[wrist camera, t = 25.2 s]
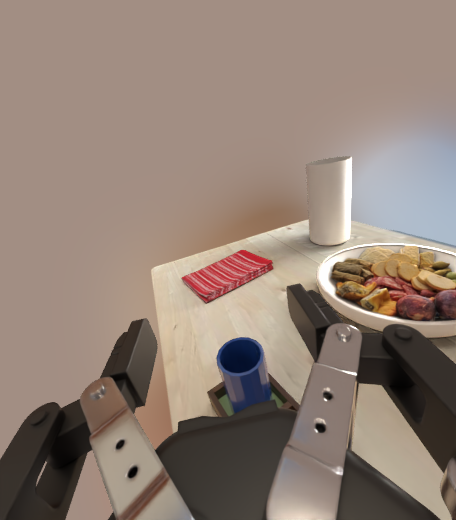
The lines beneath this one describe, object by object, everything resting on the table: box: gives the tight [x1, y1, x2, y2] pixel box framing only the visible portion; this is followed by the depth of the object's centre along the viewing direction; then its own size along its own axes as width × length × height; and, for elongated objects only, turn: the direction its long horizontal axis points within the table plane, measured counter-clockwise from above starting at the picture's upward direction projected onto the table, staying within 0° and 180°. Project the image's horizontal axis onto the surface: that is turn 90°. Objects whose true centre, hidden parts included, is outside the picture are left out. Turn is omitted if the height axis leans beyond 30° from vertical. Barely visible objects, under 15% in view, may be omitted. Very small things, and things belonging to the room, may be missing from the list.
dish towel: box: [182, 250, 273, 303], centre depth 71 cm, size 17×24×3 cm
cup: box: [217, 337, 273, 414], centre depth 32 cm, size 6×6×10 cm
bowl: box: [316, 244, 456, 338], centre depth 48 cm, size 30×30×8 cm
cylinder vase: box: [306, 156, 352, 246], centre depth 75 cm, size 12×12×25 cm
